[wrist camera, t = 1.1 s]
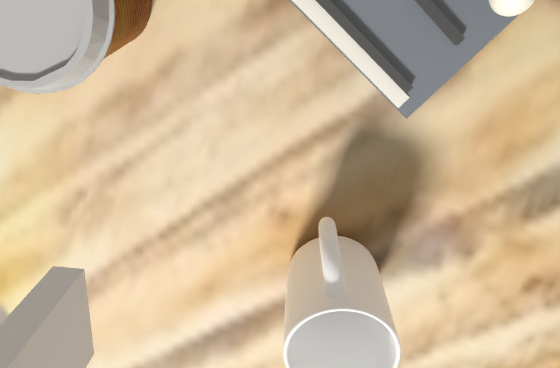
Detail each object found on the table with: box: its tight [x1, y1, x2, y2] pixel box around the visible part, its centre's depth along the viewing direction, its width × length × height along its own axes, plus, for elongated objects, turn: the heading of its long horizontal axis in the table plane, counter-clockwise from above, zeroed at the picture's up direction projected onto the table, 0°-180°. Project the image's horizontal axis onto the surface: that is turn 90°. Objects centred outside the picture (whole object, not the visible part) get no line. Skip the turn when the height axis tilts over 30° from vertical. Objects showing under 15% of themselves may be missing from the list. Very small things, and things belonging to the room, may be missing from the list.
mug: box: [283, 217, 401, 368], centre depth 34 cm, size 12×8×10 cm
